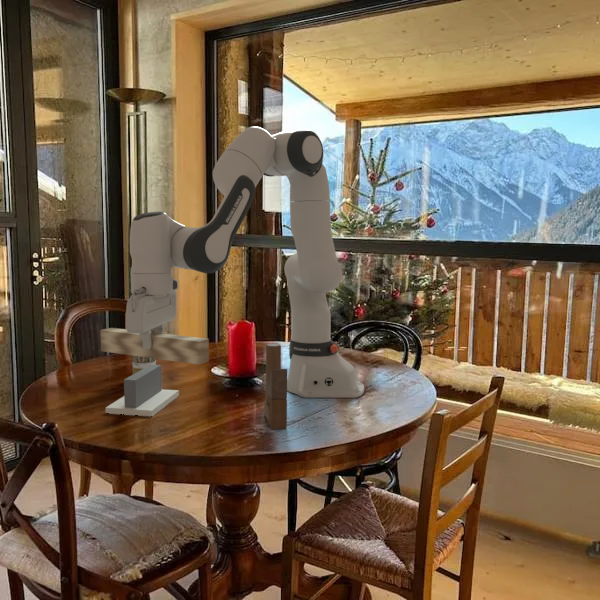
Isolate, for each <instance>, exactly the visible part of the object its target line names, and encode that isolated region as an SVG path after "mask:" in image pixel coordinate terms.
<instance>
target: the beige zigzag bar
mask: <svg viewBox="0 0 600 600" xmlns="http://www.w3.org/2000/svg"><path fill="white" fill-rule="evenodd" d="M150 336H151V340H153V347H152V348H151V349H149V350H148V349H143V341H142V339H141V337H140V334H139V333H128V332H127V329H126V328H117V327H108V328H103V329H100V336H99V337H100V352H104V353H111V354H118V355H126V356H127V355H128V356H132V355H133V356H140V357H148V358H155V359H156V360H164V361H171V362H178V363H184V364H193V365H202V364H205V363H207V362H208V363H209V361H210V350H209V349H210V345H209V344H210V343H209V342H210V338H205V337H196V336H186V335H178V334H170V333H169V334H168V333H163V334H162V333H153V332H151V334H150Z"/></svg>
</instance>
